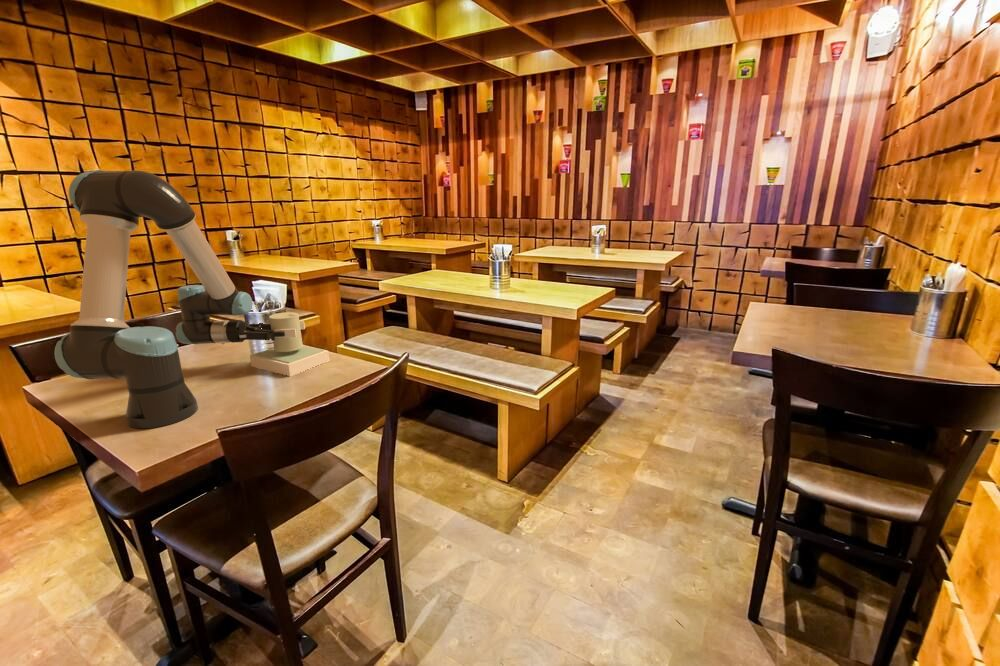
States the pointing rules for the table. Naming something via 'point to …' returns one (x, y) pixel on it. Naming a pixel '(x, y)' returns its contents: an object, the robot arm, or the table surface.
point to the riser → (289, 360)
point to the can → (286, 322)
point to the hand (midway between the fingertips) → (300, 329)
